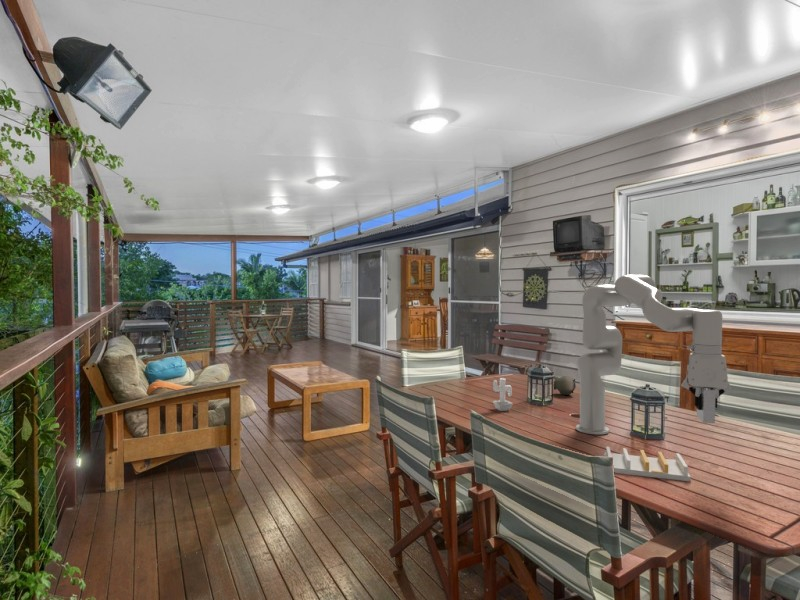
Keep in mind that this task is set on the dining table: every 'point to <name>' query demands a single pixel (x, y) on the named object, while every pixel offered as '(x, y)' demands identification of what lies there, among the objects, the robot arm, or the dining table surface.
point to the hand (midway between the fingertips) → (705, 408)
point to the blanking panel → (707, 405)
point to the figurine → (502, 395)
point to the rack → (649, 465)
